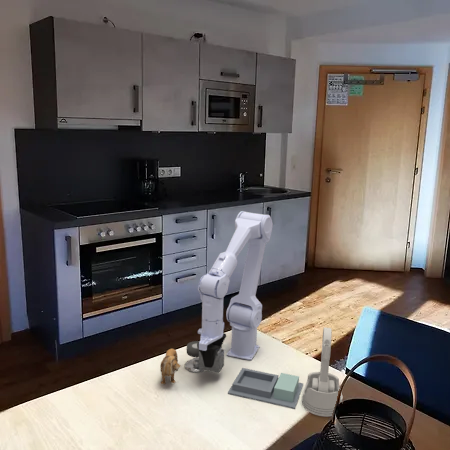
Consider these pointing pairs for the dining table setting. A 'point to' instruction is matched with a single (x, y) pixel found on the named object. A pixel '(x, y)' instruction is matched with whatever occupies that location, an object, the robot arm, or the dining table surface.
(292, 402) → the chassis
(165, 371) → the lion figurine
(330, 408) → the engine component
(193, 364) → the axle mount
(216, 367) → the block
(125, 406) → the dining table surface
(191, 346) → the wheel
